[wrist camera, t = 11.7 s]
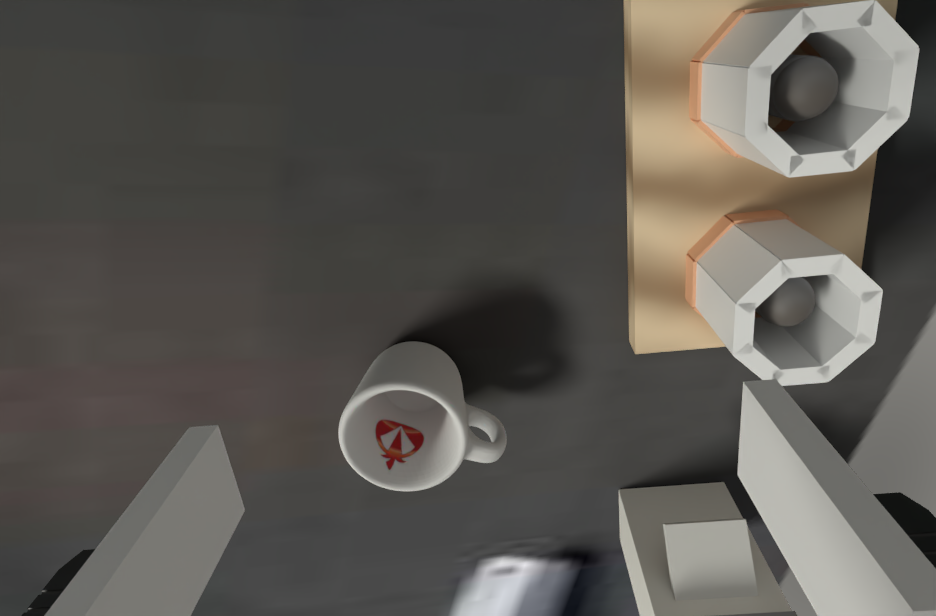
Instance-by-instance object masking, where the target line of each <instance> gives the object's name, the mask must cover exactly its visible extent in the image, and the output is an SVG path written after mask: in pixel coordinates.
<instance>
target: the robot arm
mask: <svg viewBox="0 0 936 616" xmlns="http://www.w3.org/2000/svg"><path fill="white" fill-rule="evenodd" d="M737 475H738V477H739V479H740V480H741V482H742V484H743V486H744V487H745V489H746V491H747V493H748V494H749V496H750V498H751V500H752V501H753V503H754V505H755V507H756V508H757V510H758V512H759V514H760V515H761V517H762V519H763V521H764V522H765V524H766V526H767V528H768V529H769V531H770V533H771V535H772V536H773V538H774V540H775V542H776V543H777V545H778V547H779V549H780V550H781V552H782V554H783V556H784V557H785V559H786V561H787V563H788V565H789V566H790V568H791V570H792V572H793V573H794V575H795V577H796V578H797V580H798V582H799V584H800V586H801V587H802V589H803V591H804V592H805V594H806V596H807V598H808V600H809V601H810V603H811V605H812V607H813V608H814V610H815V612H816V614H817V615H818V616H936V518H935V517H934V516H933V515H932V514H931V512H930V511H929V510H927V509H926V508H924V507H923V506H921V505H920V504H918V503H916V502H915V501H913V500H911V499H910V498H908V497H907V496H905V495H903V494H902V493H886V494H872V492H871V491H870V490H869V489H868V488H867V487H866V485H865V484H864V483H863V482H862V481H861V480H860V478H859V477H858V476H857V475H856V473H855V472H854V471H853V470H852V469H851V468H850V466H849V465H848V464H847V463H846V462H845V460H844V459H843V458H842V457H841V456H840V455H839V453H838V452H837V451H836V450H835V449H834V447H833V446H832V445H831V444H830V443H829V441H828V440H827V439H826V438H825V437H824V436H823V434H822V433H821V432H820V431H819V430H818V428H817V427H816V426H815V425H814V424H813V422H812V421H811V420H810V419H809V418H808V417H807V415H806V414H805V413H804V412H803V411H802V409H801V408H800V407H799V406H798V405H797V404H796V402H795V401H794V400H793V399H792V398H791V396H790V395H789V394H788V393H787V392H786V390H785V389H784V388H783V387H782V386H781V385H780V383H779V382H778V381H777V380H776V379H771V380H759V381H747V382H743V394H742V409H741V425H740V441H739V457H738V473H737ZM244 511H245V509H244V506H243V502H242V499H241V496H240V493H239V490H238V487H237V483H236V480H235V477H234V474H233V471H232V468H231V464H230V461H229V458H228V455H227V452H226V449H225V445H224V442H223V439H222V436H221V433H220V430H219V426H218V425H212V426H200V427H189V428H188V430H187V431H186V432H185V434H184V435H183V436H182V437H181V439H180V440H179V441H178V443H177V444H176V445H175V447H174V448H173V449H172V450H171V452H170V453H169V454H168V456H167V457H166V458H165V460H164V461H163V462H162V463H161V465H160V466H159V467H158V469H157V470H156V471H155V473H154V474H153V475H152V476H151V478H150V479H149V480H148V482H147V483H146V484H145V486H144V487H143V488H142V489H141V491H140V492H139V493H138V495H137V496H136V497H135V499H134V500H133V501H132V502H131V504H130V505H129V506H128V508H127V509H126V510H125V512H124V513H123V514H122V515H121V517H120V518H119V519H118V521H117V522H116V523H115V525H114V526H113V527H112V528H111V530H110V531H109V532H108V534H107V535H106V536H105V538H104V539H103V540H102V541H101V543H100V544H99V545H98V547H97V548H96V549H93V550H83V551H82V552H80V553H79V554H78V555H77V556H75V557H74V558H73V559H72V560H70V561H69V562H68V563H67V564H65V565H64V566H63V567H62V568H60V569H59V570H58V571H57V573H56V574H55V575H54V576H53V578H52V579H51V580H50V581H49V583H48V584H47V585H46V586H45V588H44V589H43V590H42V594H41V595H38V596H37V597H36V599H35V600H34V601H33V602H32V604H31V605H30V606H29V607H28V612H27V613H23V615H22V616H191V614H192V612H193V610H194V608H195V606H196V604H197V602H198V600H199V598H200V596H201V594H202V592H203V590H204V589H205V587H206V585H207V583H208V581H209V579H210V577H211V575H212V573H213V571H214V569H215V567H216V565H217V563H218V561H219V560H220V558H221V556H222V554H223V552H224V550H225V548H226V546H227V544H228V542H229V540H230V538H231V536H232V534H233V532H234V530H235V529H236V527H237V525H238V523H239V521H240V519H241V517H242V515H243V513H244Z"/></svg>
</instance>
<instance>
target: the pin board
mask: <svg viewBox="0 0 936 616" xmlns="http://www.w3.org/2000/svg"><path fill="white" fill-rule="evenodd" d="M856 1H866V0H624V53H625V114H626V175H627V236H628V297H629V342H630V344H631V346H632V348H633V350H634V352H635V354H644V353H655V352H667V351H678V350H690V349H701V348H713V347H725V344H724V343H723V342H722V341H721V339H720V338H719V337H718V335H717V334H716V333H715V331H714V330H713V329H712V328H711V326H710V325H709V324H708V322H707V321H706V320H705V319H704V318H703V317H702V316H701V315H699V314H698V313H697V312H696V311H695V310H693V309H692V307H691V306H690V305H689V303H688V302H687V301H686V299H685V286H686V254H688V253H687V252H688V251H689V250H690V249H691V248H692V247H693V246H694V245H695V244H696V243H697V242H698V241H699V240H700V239H701V238H702V237H703V236H704V235H705V234H706V233H707V232H708V231H709V229H710V228H711V227H712V226H713V225H714V224H715V223H716V222H717V221H718V220H719V219H720V218H721V217H722V216H725V214H735V213H744V212H754V211H764V210H774V209H777V210H779V211H781V212H783V213H784V214H786V215H788V216H789V217H790V218H791V219H793V220H794V221H795V222H796V223H797V224H798V225H799V226H800V227H801V228H802V229H804V230H805V231H807V232H808V233H810V234H812V235H813V236H815V237H817V238H818V239H820V240H822V241H823V242H825V243H827V244H828V245H830V246H832V247H833V248H835V249H836V250H838V251H840V252H841V253H843V254H845V255H846V256H847V257H848V258H849V259H850V260H851V261H852V262H853V263H854V264H856V265H857V266H858V267H859V268H860V269H861V268H862V260H863V253H864V246H865V238H866V231H867V224H868V216H869V209H870V201H871V194H872V187H873V179H874V172H875V165H876V157H877V150H878V149H877V150H876V151H875V152H874V153H873V154H871V155H870V156H869V157H868V158H867V159H866V160H865V161H864V162H863V163H862V164H861V165H860V166H859V167H858V168H857V169H856V170H854V171H849V172H839V173H830V174H820V175H810V176H801V177H791V178H789V177H786V176H784V175H782V174H780V173H777V172H775V171H773V170H771V169H769V168H767V167H765V166H762V165H760V164H758V163H756V162H754V161H752V160H749V159H747V158H745V157H742V158H736V157H734V156H732V155H730V154H728V153H726V152H725V151H724V150H722V149H721V148H720V147H719V146H718V145H717V144H716V143H715V142H714V141H713V140H712V139H710V138H709V137H708V136H707V135H706V134H705V133H704V132H703V131H702V130H701V129H700V128H699V127H697V126H696V125H695V124H694V123H693V122H692V121H691V120H690V119H691V118H689V91H690V62H691V61H693V60H692V58H693V57H694V55H695V54H696V53H697V52H698V51H699V50H700V49H701V47H702V46H703V45H704V44H705V43H706V42H707V41H708V39H709V38H710V37H711V36H712V35H713V34H714V33H715V31H716V30H717V29H718V28H719V27H720V26H721V25H722V23H723V22H724V21H725V20H726V19H727V18H728V17H729V15H730V14H731V13H732V12H735V11H738V10H746V9H754V8H763V7H771V6H779V5H787V4H795V3H804V2H805V3H808V5H809V6H817V5H826V4H836V3H846V2H856ZM876 1H877V2H878V3H879V4H880V5H881V6H882V7H883V8H884V9H885V10H886V12H887V13H888V14H889V15H890V16H891V17H892V18H893V19H894V20H895V17H896V10H897V3H898V0H876ZM838 86H839V82H838V76H837V73H836V71H835V69H834V68H833V67H832V66H831V65H830V64H829V63H828V62H827V61H826V60H824V59H823V58H820V57H817V56H808V55H807V54H806V53H805V52H804V51H803V50H802V49H801V48H800V47H799V46H798V47H797V48H796V49H795V50H794V51H793V52H792V53H791V54H790V55H789V56H788V57H787V58H786V59H785V60H784V61H783V63H782V64H781V65H780V66H779V67H778V68H777V69H776V70H775V71H774V72H773V73H772V74H771V82H770V97H769V112H768V126H769V127H770V128H775V127H776V126H777V125H778V124H779V123H780V122H781V121H782V120H783V119H786V120H789V121H795V122H800V121H806V120H809V119H812V118H814V117H817V116H818V115H820V114H822V113H823V112H825V111H826V110H827V109H828V108H829V107H830V105H831V104H832V103H833V101H834V99H835V97H836V95H837V92H838ZM814 306H815V294H814V291H813V289H812V286H811V284H810V283H809V282H808V281H807V280H806V279H805V278H803V277H795V278H788V279H787V280H786V281H785V282H784V283H783V284H782V285H781V286H780V287H778V288H777V289H776V290H775V291H774V292H773V293H772V294H771V295H770V296H769V297H768V298H767V299H765V300H764V301H763V302H762V303H761V304H760V305H759V306H758V307H757V308H756V309H755V311H756V312H757V313H758V314H759V315H760V316H761V317H762V318H763V319H764V320H765V321H767V322H769V323H771V324H774V325H777V326H783V327H787V326H794V325H797V324H799V323H801V322H803V321H804V320H806V319H807V318H808V317H809V316H810V314H811V313H812V311H813V309H814Z"/></svg>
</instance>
